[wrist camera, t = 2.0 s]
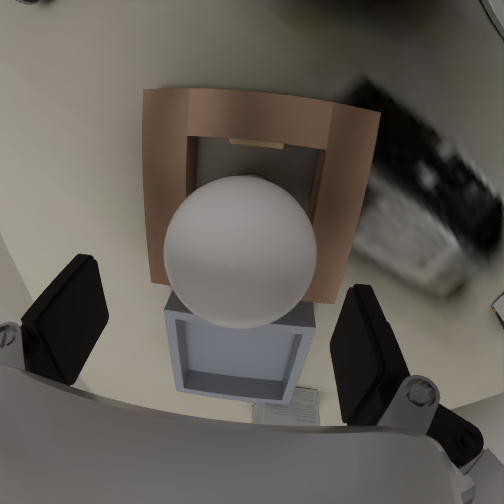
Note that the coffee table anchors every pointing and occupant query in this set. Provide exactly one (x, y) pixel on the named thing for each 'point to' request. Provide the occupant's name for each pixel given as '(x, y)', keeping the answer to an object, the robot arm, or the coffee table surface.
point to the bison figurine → (28, 1)
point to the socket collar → (263, 135)
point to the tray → (238, 354)
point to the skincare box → (290, 410)
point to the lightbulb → (240, 252)
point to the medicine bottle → (499, 309)
